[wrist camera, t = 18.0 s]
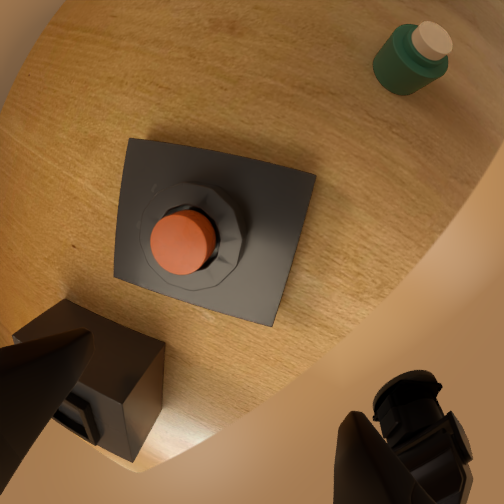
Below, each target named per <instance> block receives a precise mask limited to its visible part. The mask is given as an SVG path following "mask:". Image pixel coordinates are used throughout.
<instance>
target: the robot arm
mask: <svg viewBox="0 0 504 504" xmlns="http://www.w3.org/2000/svg"><path fill="white" fill-rule="evenodd" d="M94 352H95V345H94V335H93V332H92V331H90V330H88V329H86V328H84V327H81V328H77V329H74V330H70V331H66V332H62V333H58V334H55V335H51V336H47V337H43V338H39V339H35V340H31V341H27V342H23V343H19V344H15V345H10V346H6V347H2V348H0V495H1V494H2V492H3V491H4V489H5V487H6V486H7V484H8V482H9V481H10V479H11V478H12V476H13V474H14V473H15V471H16V470H17V468H18V466H19V465H20V463H21V462H22V460H23V458H24V457H25V455H26V454H27V452H28V451H29V449H30V448H31V446H32V445H33V443H34V442H35V440H36V439H37V438H38V436H39V435H40V433H41V432H42V430H43V429H44V427H45V426H46V425H47V423H48V422H49V420H50V419H51V418H52V416H53V415H54V413H55V412H56V411H57V409H58V408H59V407H60V405H61V404H62V402H63V401H64V400H65V398H66V397H67V396H68V394H69V393H70V392H71V390H72V389H73V388H74V386H75V385H76V383H77V382H78V380H79V378H80V377H81V375H82V373H83V372H84V370H85V368H86V366H87V365H88V363H89V362H90V360H91V358H92V357H93V355H94ZM442 388H443V386H442V384H441V383H436V382H424V381H414V380H405V379H401V380H399V381H398V382H397V383H396V385H395V386H394V388H393V389H392V391H391V392H390V393H389V395H388V396H387V398H386V399H385V401H384V402H383V403H382V405H381V406H380V407H379V409H378V410H377V411H376V413H375V414H374V415H373V417H372V418H373V421H375V422H380V426H381V430H382V435H383V438H386V439H387V443H386V441H385V440H384V439H383V438H382V436H381V435H380V434H379V432H378V431H377V430H376V429H375V427H374V426H373V425H372V423H371V422H370V421H369V420H368V418H367V417H366V416H365V415H364V414H363V413H362V412H358V411H351V412H350V413H349V414H348V415H347V416H346V418H345V419H344V420H343V422H342V423H341V425H340V427H339V430H338V438H337V448H336V456H335V464H334V498H333V504H466V503H467V500H468V496H469V493H470V490H471V486H472V482H473V476H472V473H471V470H470V468H469V465H468V462H470V461H471V460H473V456H472V452H471V448H470V444H469V440H468V438H467V436H466V434H465V431H464V429H463V427H462V425H461V424H460V423H459V421H458V420H457V418H456V417H455V416H454V414H453V413H452V411H450V412H448V413H447V415H445V416H444V413H443V411H442V409H441V407H440V405H439V402H438V400H437V398H436V396H437V395H438V393H439V392H440V391H441V389H442Z"/></svg>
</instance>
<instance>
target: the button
mask: <svg viewBox="0 0 504 504" xmlns="http://www.w3.org/2000/svg"><path fill="white" fill-rule="evenodd" d="M150 246H151V251H152V254H153V256H154V258H155V260H156V261H157V262H158V264H159V265H160V266H161V267H162V268H163V269H165V270H166V271H168V272H170V273H173V274H176V275H188V274H191V273H193V272H195V271H197V270H198V269H199V268H200V267H201V266H202V265H203V264H204V263H205V262H206V261H207V260H208V258H209V257H210V256H211V255H212V253H213V251H214V249H215V246H216V233H215V230H214V227H213V225H212V224H211V222H210V221H209V220H208V218H207V217H205V216H204V215H203V214H201V213H199V212H197V211H194V210H181V211H178V212H176V213H173V214H171V215H168V216H166V217H164V218H162V219H161V220H159V221H158V222H157V224H156V225H155V226H154V228H153V230H152V233H151V238H150Z"/></svg>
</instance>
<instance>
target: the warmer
mask: <svg viewBox="0 0 504 504" xmlns="http://www.w3.org/2000/svg"><path fill="white" fill-rule="evenodd" d="M81 327H84V328H86V329H88V330H90V331H92V332H93V335H94V345H95V352H94V355H93V357H92V358H91V360H90V362H89V363H88V365H87V366H86V368H85V370H84V372H83V373H82V375H81V377H80V378H79V380H78V382H77V383H76V385H75V386H74V388H73V389H72V390H71V392H70V393H69V394H68V396H67V397H66V398H65V400H64V401H63V402H62V404H61V405H60V407H59V408H58V409H57V411H56V412H55V413H54V415H53V416H52V419H54V420H55V421H56V422H58V423H59V424H61V425H62V426H64V427H65V428H67V429H68V430H70V431H71V432H73V433H75V434H76V435H78V436H79V437H81V438H83V439H84V440H86V441H88V442H90V443H91V444H93V445H95V446H96V445H98V446H100V447H102V448H104V449H106V450H108V451H109V452H111V453H113V454H115V455H117V456H119V457H121V458H123V459H126V460H128V461H130V462H132V463H133V462H134V460H135V458H136V456H137V455H138V453H139V451H140V449H141V447H142V445H143V443H144V442H145V440H146V438H147V436H148V434H149V432H150V431H151V429H152V427H153V425H154V423H155V421H156V419H157V418H158V416H159V414H160V412H161V410H162V391H163V370H164V354H165V342H162V341H159V340H157V339H154V338H151V337H149V336H146V335H144V334H141V333H139V332H136V331H134V330H131V329H129V328H127V327H124V326H122V325H119V324H117V323H115V322H113V321H110V320H108V319H106V318H104V317H101V316H99V315H97V314H95V313H93V312H91V311H89V310H86V309H84V308H82V307H80V306H78V305H76V304H74V303H72V302H70V301H68V300H66V299H63V300H62V301H60V302H59V303H57V304H56V305H54V306H53V307H51V308H50V309H48V310H47V311H45V312H44V313H42V314H41V315H39V316H38V317H37V318H35V319H34V320H32V321H31V322H29V323H28V324H27V325H25V326H24V327H22V328H21V329H20V330H18V331H17V332H16V333H14V334H13V335H12V337H13V341H14V344H19V343H23V342H27V341H31V340H35V339H39V338H43V337H47V336H51V335H55V334H58V333H62V332H66V331H70V330H74V329H77V328H81Z"/></svg>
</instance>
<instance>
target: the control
mask: <svg viewBox="0 0 504 504" xmlns="http://www.w3.org/2000/svg"><path fill="white" fill-rule="evenodd" d="M315 180H316V175H314V174H311V173H307V172H303V171H300V170H296V169H292V168H288V167H285V166H281V165H277V164H273V163H268V162H264V161H260V160H256V159H251V158H247V157H242V156H238V155H233V154H228V153H223V152H218V151H213V150H208V149H202V148H197V147H191V146H185V145H179V144H172V143H166V142H159V141H151V140H144V139H135V138H129V141H128V146H127V151H126V157H125V163H124V169H123V175H122V182H121V189H120V197H119V205H118V214H117V225H116V237H115V252H114V277H115V278H118V279H121V280H123V281H126V282H129V283H132V284H134V285H137V286H140V287H143V288H146V289H148V290H151V291H154V292H157V293H160V294H163V295H166V296H169V297H172V298H175V299H178V300H181V301H184V302H187V303H190V304H193V305H197V306H200V307H203V308H206V309H209V310H213V311H216V312H219V313H223V314H226V315H230V316H233V317H237V318H240V319H244V320H247V321H251V322H254V323H258V324H262V325H266V326H269V327H272V326H273V323H274V320H275V317H276V314H277V311H278V307H279V304H280V301H281V298H282V295H283V291H284V288H285V285H286V282H287V278H288V275H289V272H290V269H291V265H292V262H293V259H294V255H295V252H296V248H297V245H298V241H299V238H300V235H301V231H302V227H303V224H304V220H305V217H306V213H307V210H308V206H309V202H310V199H311V195H312V191H313V187H314V183H315ZM181 210H194V211H197V212H199V213H201V214H203V215H204V216H205V217H207V218H208V220H209V221H210V222H211V224H212V225H213V227H214V230H215V233H216V246H215V249H214V251H213V253H212V255H211V256H210V257H209V258H208V260H207V261H206V262H205V263H204V264H203V265H202V266H201V267H200V268H199V269H198V270H197V271H195V272H193V273H191V274H188V275H176V274H173V273H170V272H168V271H166V270H165V269H163V268H162V267H161V266H160V265H159V264H158V262H157V261H156V260H155V258H154V256H153V254H152V251H151V246H150V238H151V233H152V230H153V228H154V226H155V225H156V224H157V222H158V221H159V220H161V219H162V218H164V217H166V216H168V215H171V214H173V213H176V212H178V211H181Z"/></svg>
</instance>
